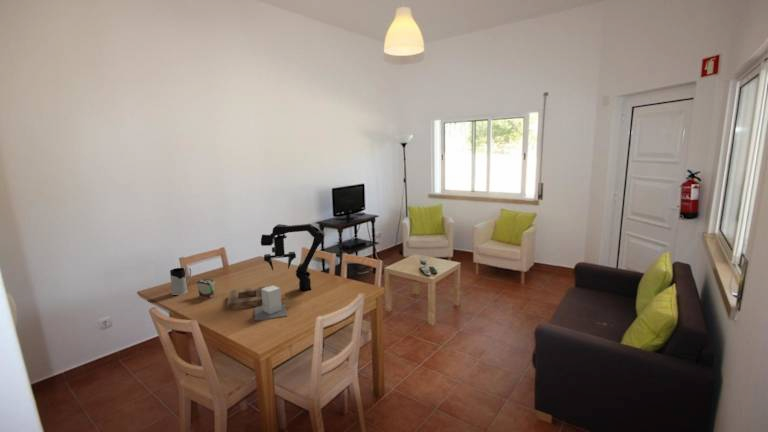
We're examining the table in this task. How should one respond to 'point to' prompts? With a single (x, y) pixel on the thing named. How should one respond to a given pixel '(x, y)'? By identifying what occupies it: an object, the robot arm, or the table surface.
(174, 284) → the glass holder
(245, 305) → the pocket block
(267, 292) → the supplement box
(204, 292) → the alarm clock
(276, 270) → the table surface
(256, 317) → the mat
